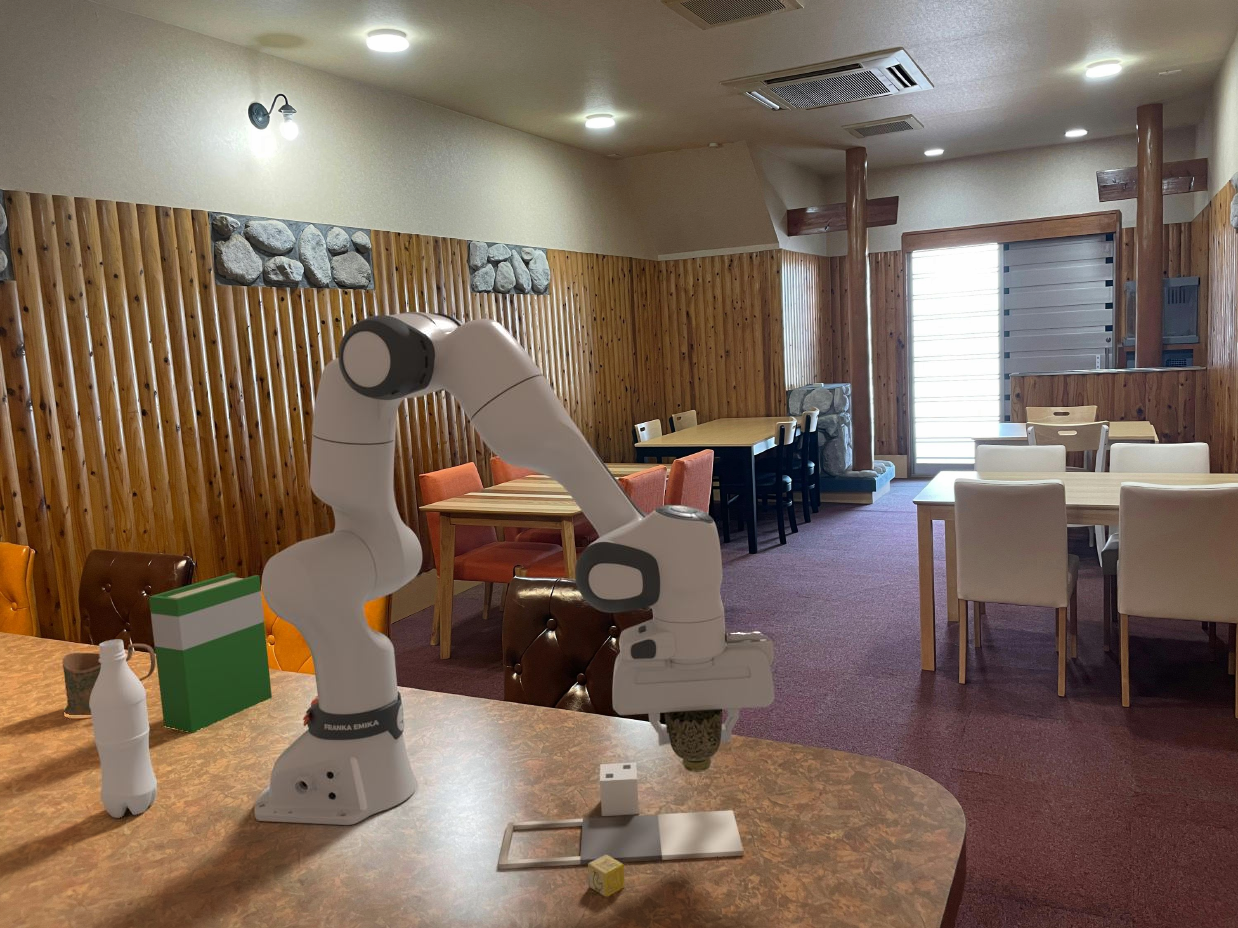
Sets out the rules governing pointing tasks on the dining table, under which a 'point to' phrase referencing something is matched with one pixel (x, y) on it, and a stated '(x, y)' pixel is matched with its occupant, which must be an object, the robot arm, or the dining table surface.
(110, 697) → the water bottle
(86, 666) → the mug
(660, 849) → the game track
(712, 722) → the cup
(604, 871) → the alphabet block
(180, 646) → the hardback book
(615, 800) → the die
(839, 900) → the dining table surface
